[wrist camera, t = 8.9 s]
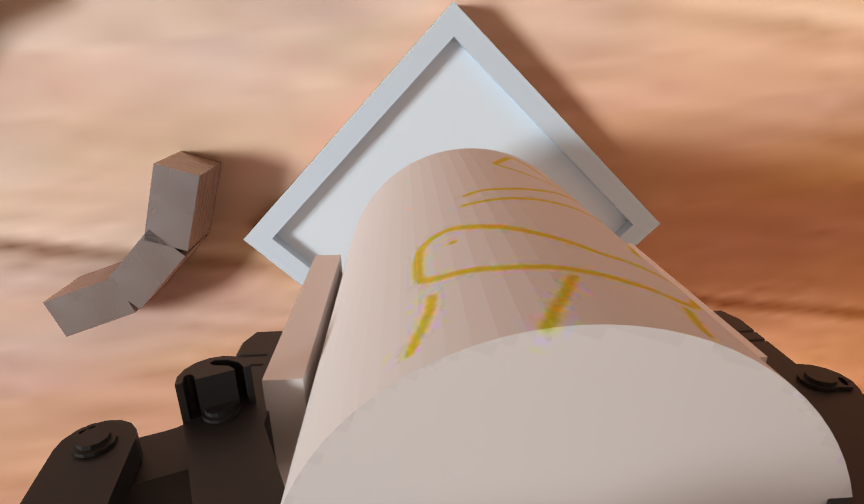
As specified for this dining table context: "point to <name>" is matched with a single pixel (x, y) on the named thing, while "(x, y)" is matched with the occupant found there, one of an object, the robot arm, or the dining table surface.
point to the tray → (437, 146)
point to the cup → (536, 364)
